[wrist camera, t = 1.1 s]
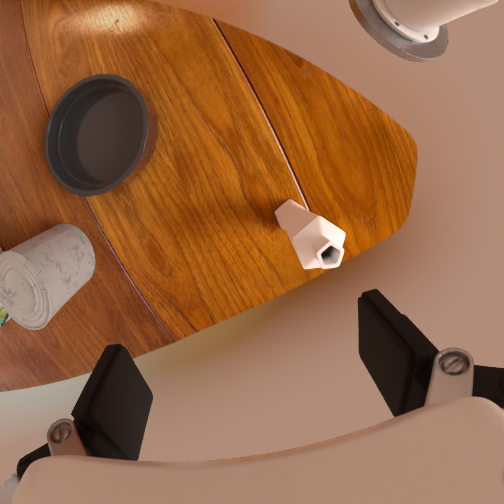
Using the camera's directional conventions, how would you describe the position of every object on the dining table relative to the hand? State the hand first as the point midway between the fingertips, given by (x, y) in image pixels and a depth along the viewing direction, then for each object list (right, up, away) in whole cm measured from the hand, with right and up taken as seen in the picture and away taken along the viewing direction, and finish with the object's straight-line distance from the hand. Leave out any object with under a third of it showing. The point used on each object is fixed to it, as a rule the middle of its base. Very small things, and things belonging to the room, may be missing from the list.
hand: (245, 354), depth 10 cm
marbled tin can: (-26, +3, +24) cm, 35 cm away
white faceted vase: (+5, +8, +24) cm, 26 cm away
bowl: (-18, +18, +19) cm, 32 cm away
